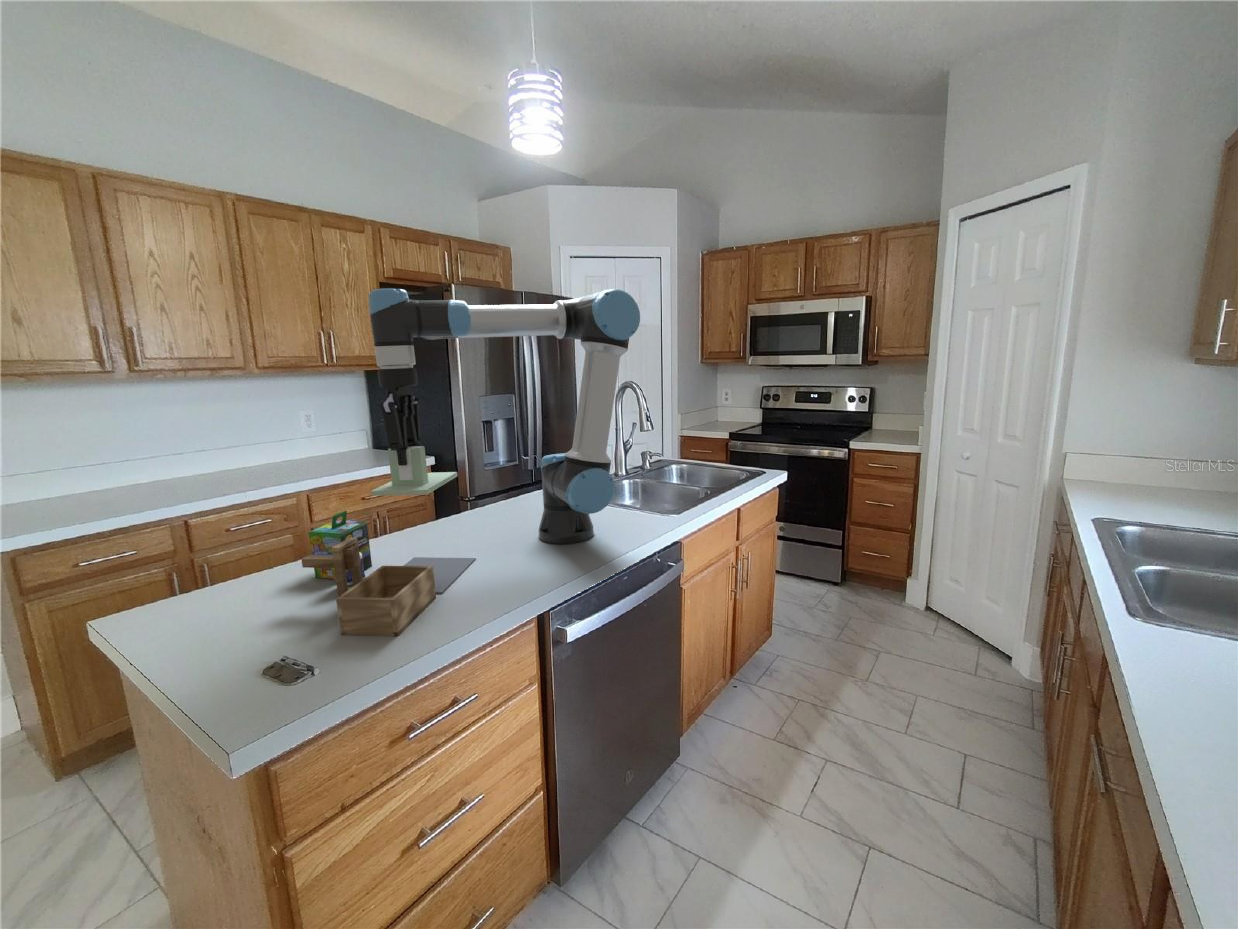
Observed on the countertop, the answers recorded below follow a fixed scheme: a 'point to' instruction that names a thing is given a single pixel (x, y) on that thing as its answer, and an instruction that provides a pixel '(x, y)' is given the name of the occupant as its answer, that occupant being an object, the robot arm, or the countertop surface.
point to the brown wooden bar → (326, 561)
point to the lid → (421, 481)
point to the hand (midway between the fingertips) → (410, 477)
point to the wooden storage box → (380, 596)
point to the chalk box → (339, 541)
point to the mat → (443, 569)
